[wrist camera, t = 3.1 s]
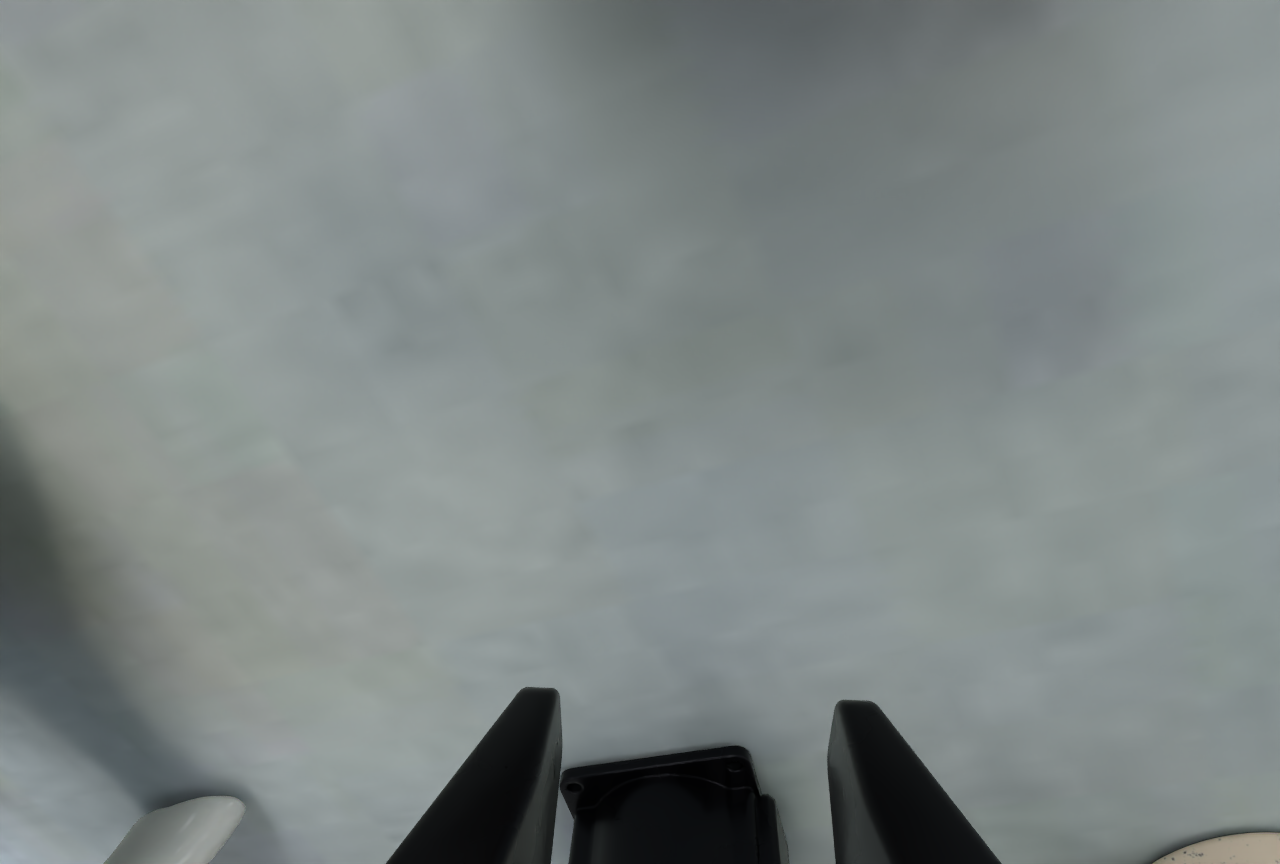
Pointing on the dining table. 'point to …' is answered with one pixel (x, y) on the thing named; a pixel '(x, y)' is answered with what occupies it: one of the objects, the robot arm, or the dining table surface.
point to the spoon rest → (181, 832)
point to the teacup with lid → (1229, 850)
